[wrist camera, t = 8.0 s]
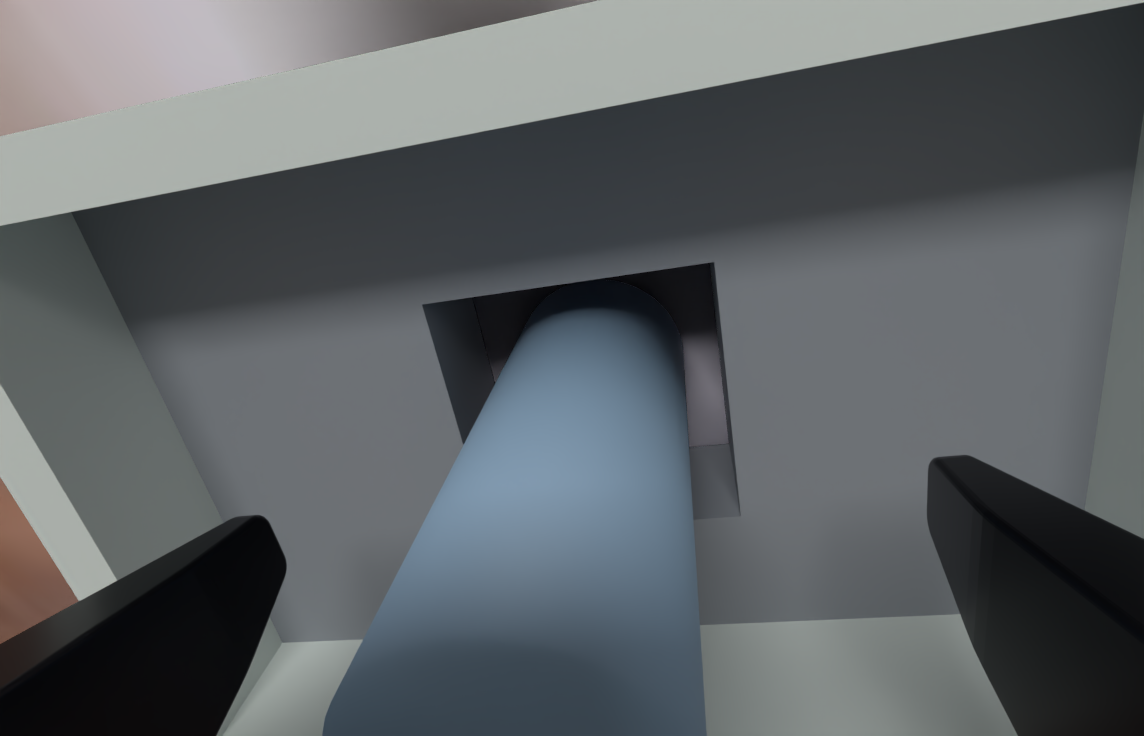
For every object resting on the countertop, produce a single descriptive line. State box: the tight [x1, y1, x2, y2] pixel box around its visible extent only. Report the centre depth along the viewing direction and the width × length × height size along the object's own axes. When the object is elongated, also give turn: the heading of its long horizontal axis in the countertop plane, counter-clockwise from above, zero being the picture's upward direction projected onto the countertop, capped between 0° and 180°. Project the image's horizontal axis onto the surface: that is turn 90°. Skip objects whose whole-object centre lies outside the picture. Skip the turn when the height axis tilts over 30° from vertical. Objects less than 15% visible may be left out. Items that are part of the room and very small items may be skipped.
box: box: [0, 0, 1144, 736], centre depth 12 cm, size 12×18×5 cm, turn 101°
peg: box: [322, 279, 707, 736], centre depth 10 cm, size 3×3×9 cm
